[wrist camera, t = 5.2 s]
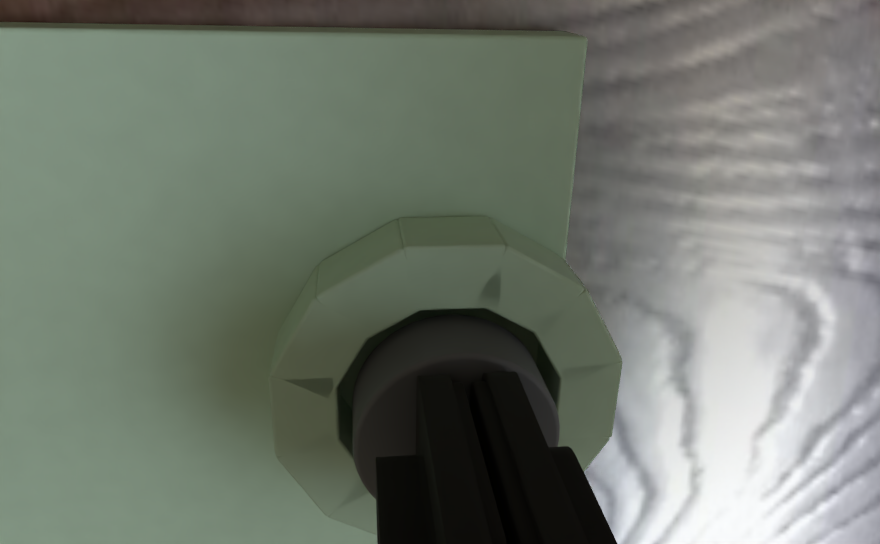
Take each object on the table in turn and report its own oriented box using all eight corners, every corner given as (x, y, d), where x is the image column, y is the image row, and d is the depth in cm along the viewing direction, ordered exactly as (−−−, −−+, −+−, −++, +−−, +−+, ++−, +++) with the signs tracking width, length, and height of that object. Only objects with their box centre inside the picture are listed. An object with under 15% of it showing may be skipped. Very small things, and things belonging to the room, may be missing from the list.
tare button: (546, 308, 13) (570, 350, 11) (531, 466, 14) (552, 521, 13) (349, 315, 12) (349, 359, 11) (355, 477, 14) (355, 535, 12)
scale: (603, 31, 13) (670, 44, 10) (548, 542, 18) (582, 641, 16) (-375, 15, 11) (-610, 26, 8) (-133, 595, 16) (-232, 719, 14)
